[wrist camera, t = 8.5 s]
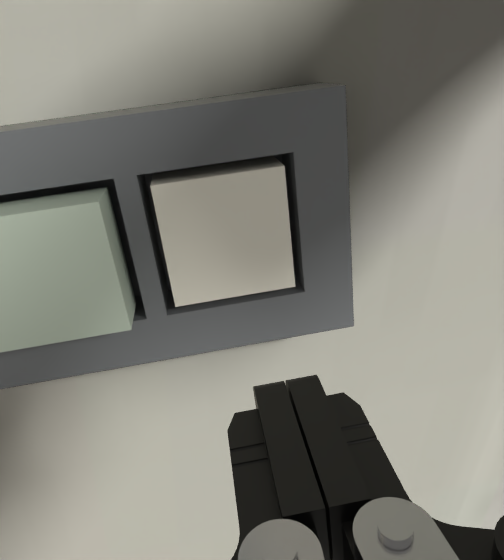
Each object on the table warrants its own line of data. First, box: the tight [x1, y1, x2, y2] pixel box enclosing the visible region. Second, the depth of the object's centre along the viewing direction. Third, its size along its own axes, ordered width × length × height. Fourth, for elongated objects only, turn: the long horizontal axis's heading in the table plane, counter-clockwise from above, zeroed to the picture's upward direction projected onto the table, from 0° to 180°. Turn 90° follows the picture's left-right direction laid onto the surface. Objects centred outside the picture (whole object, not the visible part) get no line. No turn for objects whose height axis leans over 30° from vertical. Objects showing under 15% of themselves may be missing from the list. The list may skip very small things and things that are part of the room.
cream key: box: [150, 156, 295, 307], centre depth 24 cm, size 6×6×3 cm
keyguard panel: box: [0, 83, 354, 389], centre depth 24 cm, size 28×12×4 cm, turn 97°
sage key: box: [0, 187, 136, 352], centre depth 22 cm, size 6×6×3 cm
